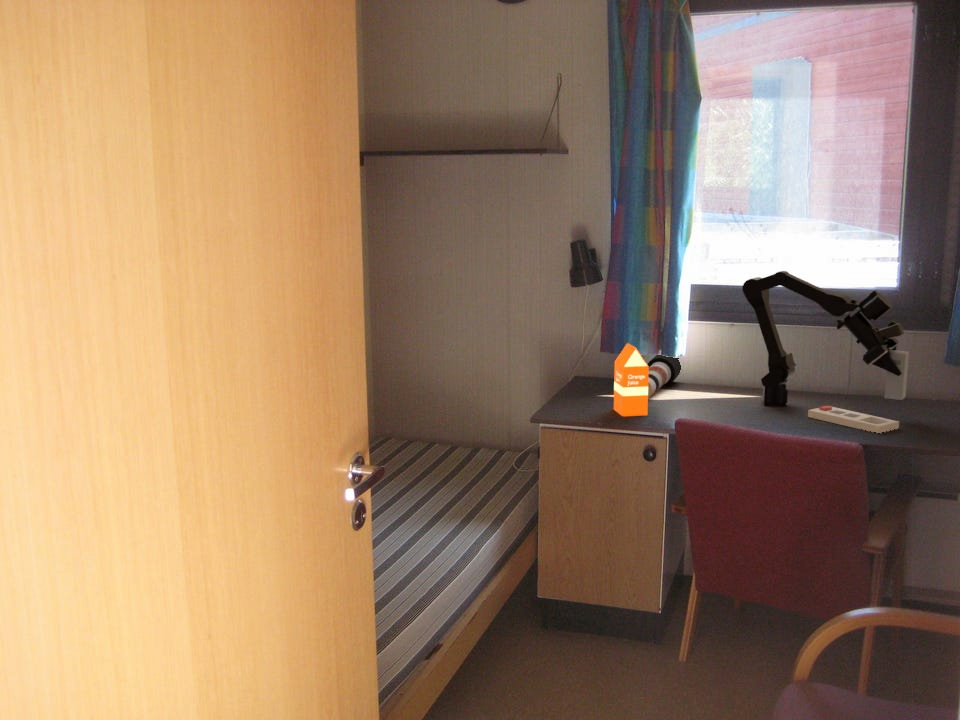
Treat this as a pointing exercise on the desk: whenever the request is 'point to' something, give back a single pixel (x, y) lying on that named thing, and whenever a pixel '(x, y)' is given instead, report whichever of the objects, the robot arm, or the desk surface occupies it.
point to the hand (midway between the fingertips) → (902, 373)
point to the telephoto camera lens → (662, 372)
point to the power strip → (853, 419)
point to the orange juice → (630, 383)
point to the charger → (894, 383)
